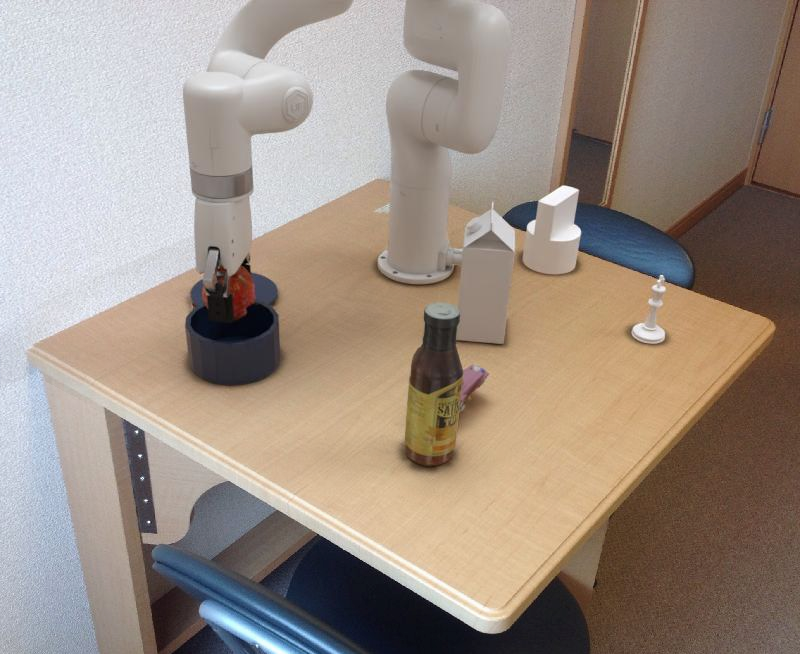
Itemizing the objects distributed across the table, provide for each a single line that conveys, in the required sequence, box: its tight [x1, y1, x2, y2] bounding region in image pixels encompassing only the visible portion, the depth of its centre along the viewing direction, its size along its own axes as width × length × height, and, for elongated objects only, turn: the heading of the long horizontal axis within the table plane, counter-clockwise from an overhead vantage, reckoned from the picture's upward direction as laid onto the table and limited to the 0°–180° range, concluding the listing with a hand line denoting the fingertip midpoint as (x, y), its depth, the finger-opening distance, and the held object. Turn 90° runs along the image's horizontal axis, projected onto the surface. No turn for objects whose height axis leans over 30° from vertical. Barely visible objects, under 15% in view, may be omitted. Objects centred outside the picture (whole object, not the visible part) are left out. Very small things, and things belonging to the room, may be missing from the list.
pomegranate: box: [202, 265, 258, 321], centre depth 122 cm, size 7×7×10 cm
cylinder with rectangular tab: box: [522, 184, 582, 275], centre depth 153 cm, size 9×9×12 cm
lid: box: [190, 272, 279, 307], centre depth 140 cm, size 13×13×7 cm
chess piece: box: [631, 274, 667, 345], centre depth 135 cm, size 5×5×10 cm
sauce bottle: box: [404, 301, 464, 467], centre depth 107 cm, size 6×6×20 cm
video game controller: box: [459, 363, 490, 413], centre depth 119 cm, size 10×5×7 cm, turn 148°
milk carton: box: [456, 201, 516, 345], centre depth 131 cm, size 7×7×19 cm
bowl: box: [184, 300, 281, 386], centre depth 126 cm, size 12×13×6 cm
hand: (231, 304), depth 123 cm, fingers closed on pomegranate, 7 cm apart
